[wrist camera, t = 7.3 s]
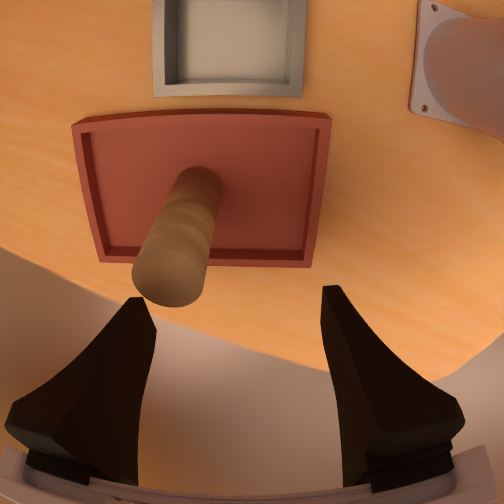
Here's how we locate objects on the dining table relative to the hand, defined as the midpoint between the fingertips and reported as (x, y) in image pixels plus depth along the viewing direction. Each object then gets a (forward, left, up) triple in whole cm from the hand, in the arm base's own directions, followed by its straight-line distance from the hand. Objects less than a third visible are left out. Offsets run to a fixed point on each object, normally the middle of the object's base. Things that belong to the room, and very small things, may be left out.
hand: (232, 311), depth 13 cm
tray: (+3, -1, -10) cm, 11 cm away
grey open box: (+1, -11, -10) cm, 15 cm away
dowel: (+3, -1, -10) cm, 10 cm away
